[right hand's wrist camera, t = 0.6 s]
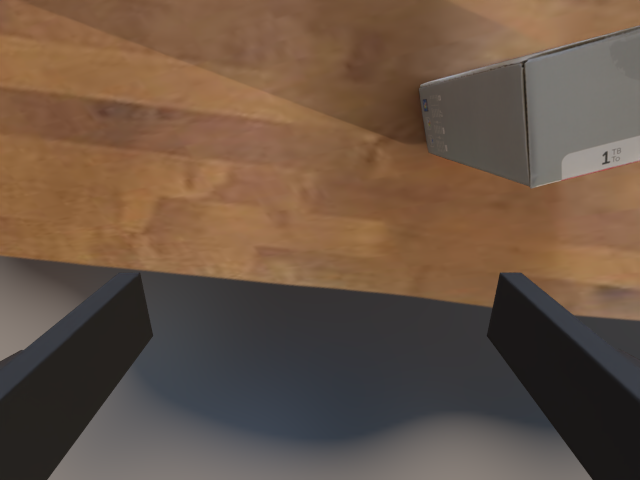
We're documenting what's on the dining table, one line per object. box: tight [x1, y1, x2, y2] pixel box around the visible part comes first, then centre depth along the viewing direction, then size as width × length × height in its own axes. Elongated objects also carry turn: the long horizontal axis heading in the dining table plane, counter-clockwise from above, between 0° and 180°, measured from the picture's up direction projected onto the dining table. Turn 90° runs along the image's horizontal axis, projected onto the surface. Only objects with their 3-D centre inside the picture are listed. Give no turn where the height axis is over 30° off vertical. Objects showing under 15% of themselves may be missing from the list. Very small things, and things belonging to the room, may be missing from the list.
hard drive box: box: [419, 25, 640, 188], centre depth 28 cm, size 16×8×20 cm, turn 104°
